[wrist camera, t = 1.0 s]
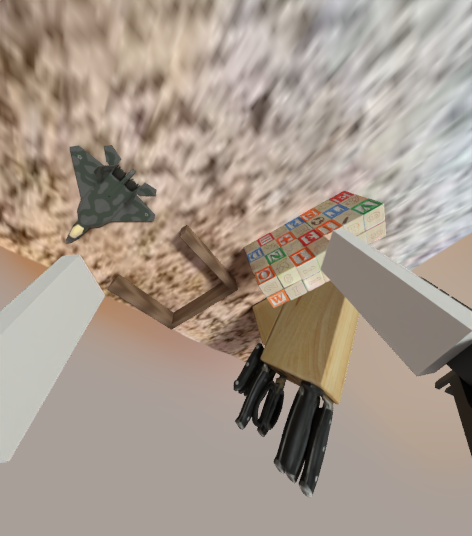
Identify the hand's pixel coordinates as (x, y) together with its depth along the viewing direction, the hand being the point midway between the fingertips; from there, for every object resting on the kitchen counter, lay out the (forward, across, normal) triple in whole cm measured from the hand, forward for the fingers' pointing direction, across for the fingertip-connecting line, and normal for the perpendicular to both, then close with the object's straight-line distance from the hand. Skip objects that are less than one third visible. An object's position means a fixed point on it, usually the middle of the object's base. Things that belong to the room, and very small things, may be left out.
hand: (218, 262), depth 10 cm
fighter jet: (+25, -17, -4) cm, 30 cm away
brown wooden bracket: (+23, -8, -19) cm, 31 cm away
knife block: (+23, +18, -30) cm, 42 cm away
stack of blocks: (+24, +17, -11) cm, 31 cm away
